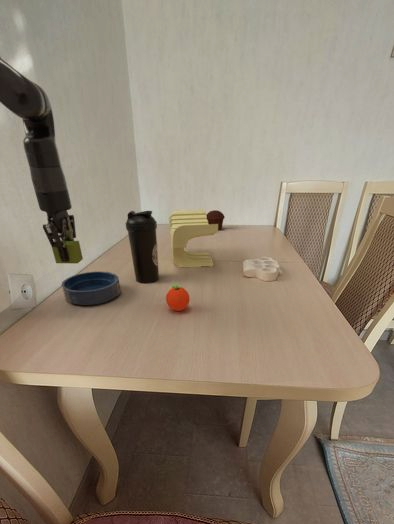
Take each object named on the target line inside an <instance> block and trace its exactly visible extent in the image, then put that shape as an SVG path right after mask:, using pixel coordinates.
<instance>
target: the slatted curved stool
mask: <svg viewBox="0 0 394 524" xmlns="http://www.w3.org/2000/svg"><path fill="white" fill-rule="evenodd" d="M206 215H207V213H206V209H187V210H186V209H185V210H175V211H172V212H171V213H170V215H169V217H168V225H169V226H168V228H169V229H168V230H169V233H170V244H171V245H170V247H171V254H172V258H173V259H172V260H173V262H174V264H175V266H177V267H179V268H181V267H191V268H202V267H201V266H209V267H214V260H213V259H212V257H211V255H210V253H209V252H190V251H186V250H185V249H186V248H187V244H188V243H189V241H190V240H192V239H195V238H199V237H200V238H201V237H207V236H208V237H209V236H214V235H216V234H217V233H219V231H218V224H208V220H207V216H206Z"/></svg>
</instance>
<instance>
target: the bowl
mask: <svg viewBox="0 0 394 524" xmlns="http://www.w3.org/2000/svg"><path fill="white" fill-rule="evenodd" d="M119 278H120V277H119V276H118V275H117V274H116V273H113V272H110V271H87V272H82V273H81V272H80V273H78V274H74V275H72V276H69V277H67V278H65V279H64V280H63V281H61V285H60V287H61V291H62V293H63V297H64V299H65V301H67V302H69V303H70V304H73V305H78V306H79V305H80V306H95V305H101V304H104V303H108V302H111V300H113V299H115V298H116V297H117V296H119V295H120V293H122V292H121V283H120V279H119Z"/></svg>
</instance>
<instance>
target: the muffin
mask: <svg viewBox="0 0 394 524" xmlns="http://www.w3.org/2000/svg"><path fill="white" fill-rule="evenodd" d="M206 216H207V220H208V224H218V232H219V231H222V229H223V224H224V220H225V214H224V213H223V212H221V211H220V210H210V211H209V212H207V213H206Z"/></svg>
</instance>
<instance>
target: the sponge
mask: <svg viewBox="0 0 394 524" xmlns="http://www.w3.org/2000/svg"><path fill="white" fill-rule="evenodd" d="M61 242H62V241H61ZM65 242H66V247H67V251H68V255H69V259H70V260H69V261H68V262H62V261H61V260H60V256H59V252H58V249H57V248H56V247H52V246H51V249H52V253H53V258H54V260H55V264H79V263H80V262H81V261H83V260H84V259H83V253H82V249H81V244H80V241H79V240H74V241H65Z"/></svg>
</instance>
